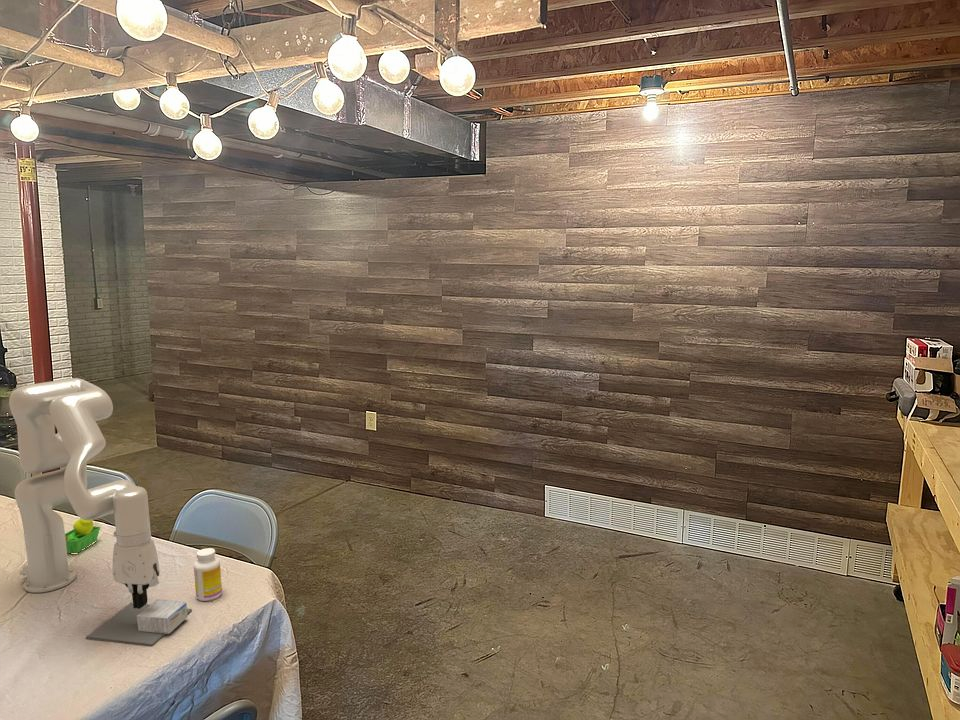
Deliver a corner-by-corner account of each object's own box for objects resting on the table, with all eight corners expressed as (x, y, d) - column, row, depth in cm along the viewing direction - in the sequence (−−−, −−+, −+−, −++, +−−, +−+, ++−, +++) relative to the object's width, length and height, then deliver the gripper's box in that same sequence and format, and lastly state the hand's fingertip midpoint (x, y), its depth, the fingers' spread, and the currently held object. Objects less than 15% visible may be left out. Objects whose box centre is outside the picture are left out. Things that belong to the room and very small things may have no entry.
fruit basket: (81, 539, 219) (78, 507, 217) (106, 541, 217) (103, 508, 216) (55, 555, 207) (51, 521, 206) (81, 557, 206) (77, 522, 204)
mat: (85, 638, 163) (85, 636, 163) (130, 604, 178) (130, 602, 178) (152, 646, 160) (151, 644, 160) (191, 611, 175) (191, 608, 175)
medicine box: (137, 631, 165) (169, 635, 164) (135, 614, 164) (167, 618, 163) (157, 614, 173) (188, 617, 171) (156, 598, 172) (187, 601, 170)
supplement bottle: (227, 591, 185) (224, 548, 183) (210, 603, 179) (207, 558, 177) (207, 587, 187) (204, 544, 185) (190, 599, 181) (187, 555, 179)
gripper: (96, 541, 163) (103, 610, 166) (151, 545, 160) (157, 616, 163) (117, 528, 170) (124, 595, 173) (170, 532, 167) (176, 600, 170)
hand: (140, 605), depth 168 cm, fingers closed
